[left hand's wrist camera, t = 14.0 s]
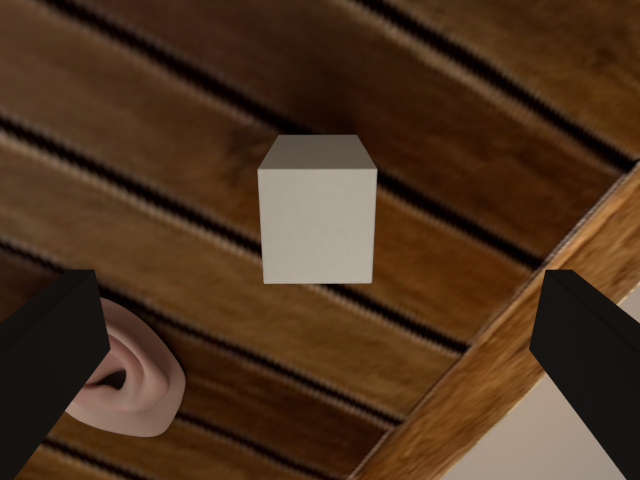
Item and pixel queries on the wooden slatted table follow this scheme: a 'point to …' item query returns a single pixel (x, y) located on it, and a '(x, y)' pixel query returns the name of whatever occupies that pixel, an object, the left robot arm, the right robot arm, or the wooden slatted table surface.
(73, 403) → the anatomical model
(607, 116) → the wooden slatted table surface
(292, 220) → the block
